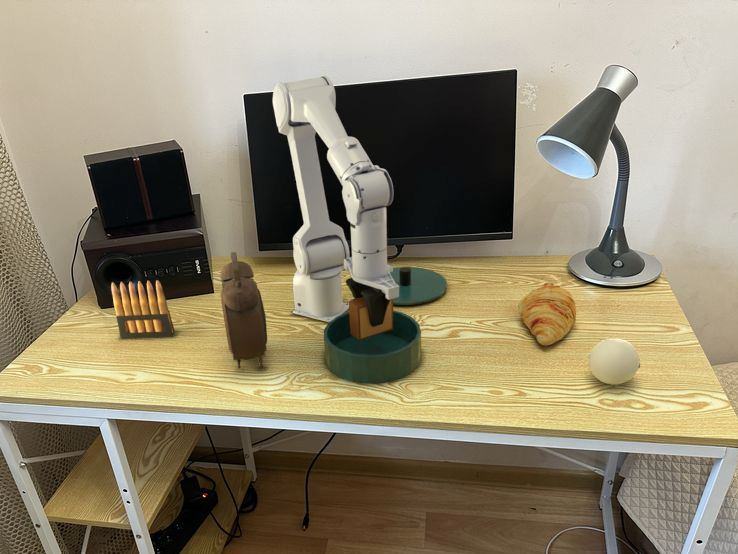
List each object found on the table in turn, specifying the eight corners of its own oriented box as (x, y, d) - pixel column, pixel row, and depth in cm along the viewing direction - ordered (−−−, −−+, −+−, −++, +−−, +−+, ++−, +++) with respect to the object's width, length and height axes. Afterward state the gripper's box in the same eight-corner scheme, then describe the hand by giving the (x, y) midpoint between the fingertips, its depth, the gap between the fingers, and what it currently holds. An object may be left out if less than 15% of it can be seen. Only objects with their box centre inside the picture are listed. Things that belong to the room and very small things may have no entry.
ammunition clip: (120, 338, 127) (106, 284, 121) (123, 334, 129) (109, 280, 123) (172, 336, 126) (160, 281, 120) (175, 332, 128) (163, 277, 122)
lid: (355, 303, 132) (354, 284, 130) (375, 269, 146) (374, 250, 144) (439, 310, 127) (440, 290, 124) (452, 274, 140) (452, 255, 138)
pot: (313, 377, 110) (311, 350, 107) (340, 329, 123) (339, 304, 121) (410, 389, 105) (410, 361, 102) (427, 337, 118) (428, 312, 115)
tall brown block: (349, 333, 111) (348, 300, 108) (384, 322, 114) (383, 289, 110) (359, 341, 109) (357, 307, 106) (393, 329, 111) (393, 296, 108)
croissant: (559, 369, 112) (589, 336, 107) (509, 341, 112) (536, 308, 107) (558, 310, 129) (584, 280, 124) (515, 286, 129) (538, 255, 124)
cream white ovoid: (639, 395, 98) (649, 355, 95) (588, 392, 100) (595, 352, 96) (628, 360, 107) (636, 322, 103) (580, 358, 108) (586, 320, 105)
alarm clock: (275, 374, 112) (262, 270, 101) (234, 381, 111) (216, 276, 100) (266, 334, 124) (253, 238, 114) (228, 340, 123) (212, 243, 113)
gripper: (415, 255, 99) (414, 331, 106) (367, 228, 110) (369, 298, 117) (376, 266, 96) (378, 343, 103) (331, 237, 108) (336, 308, 115)
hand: (371, 320), depth 110 cm, fingers closed on tall brown block, 3 cm apart
